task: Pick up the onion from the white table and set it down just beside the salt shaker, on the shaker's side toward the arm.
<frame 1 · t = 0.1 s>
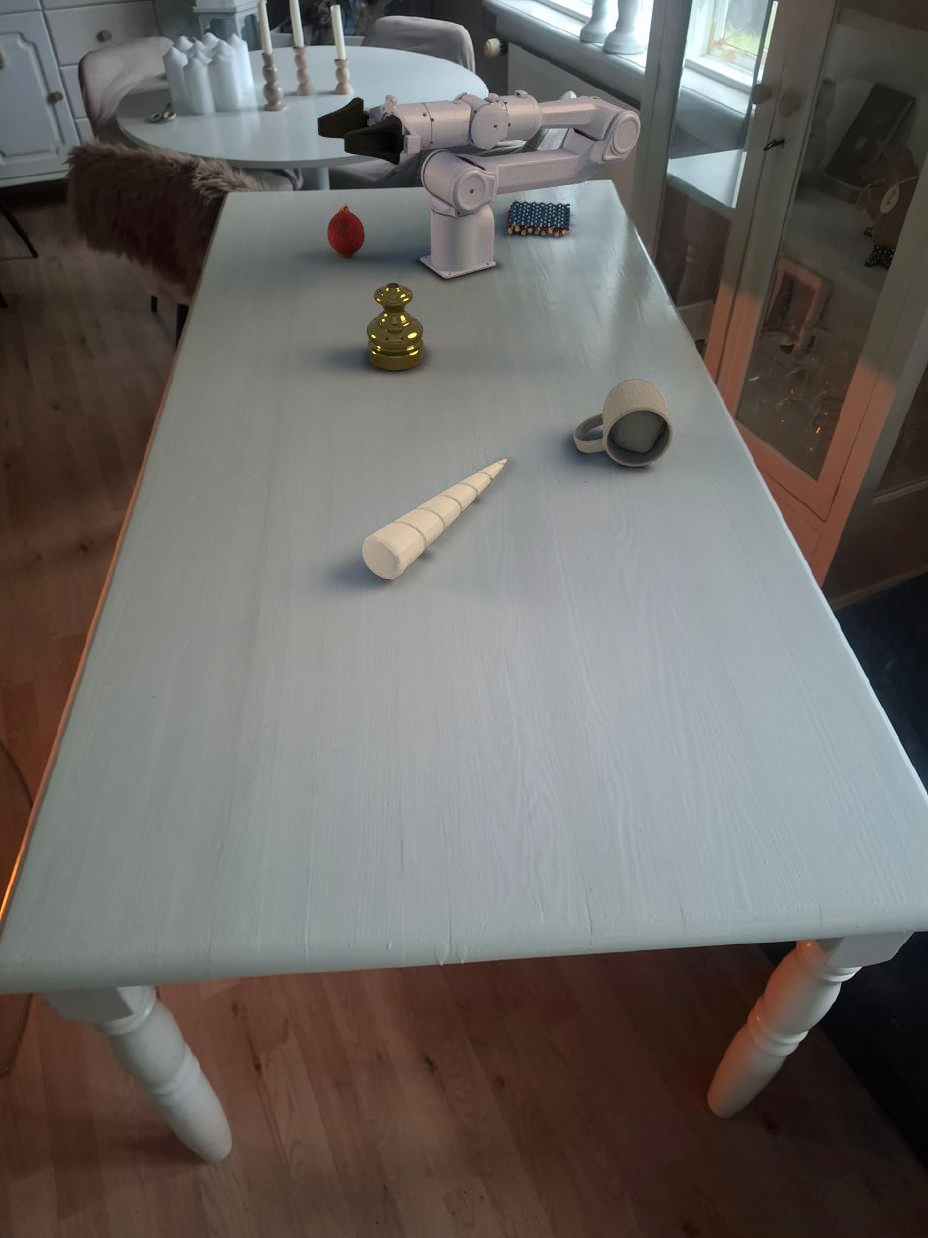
hand: (331, 134, 113), 22 cm above the table, tool horizontal, fingers open, 7 cm apart
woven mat: (538, 225, 147), on the table
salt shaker: (396, 359, 116), on the table
ceramic mug: (618, 449, 102), on the table
unicorn horn: (440, 521, 93), on the table
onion: (347, 258, 137), on the table
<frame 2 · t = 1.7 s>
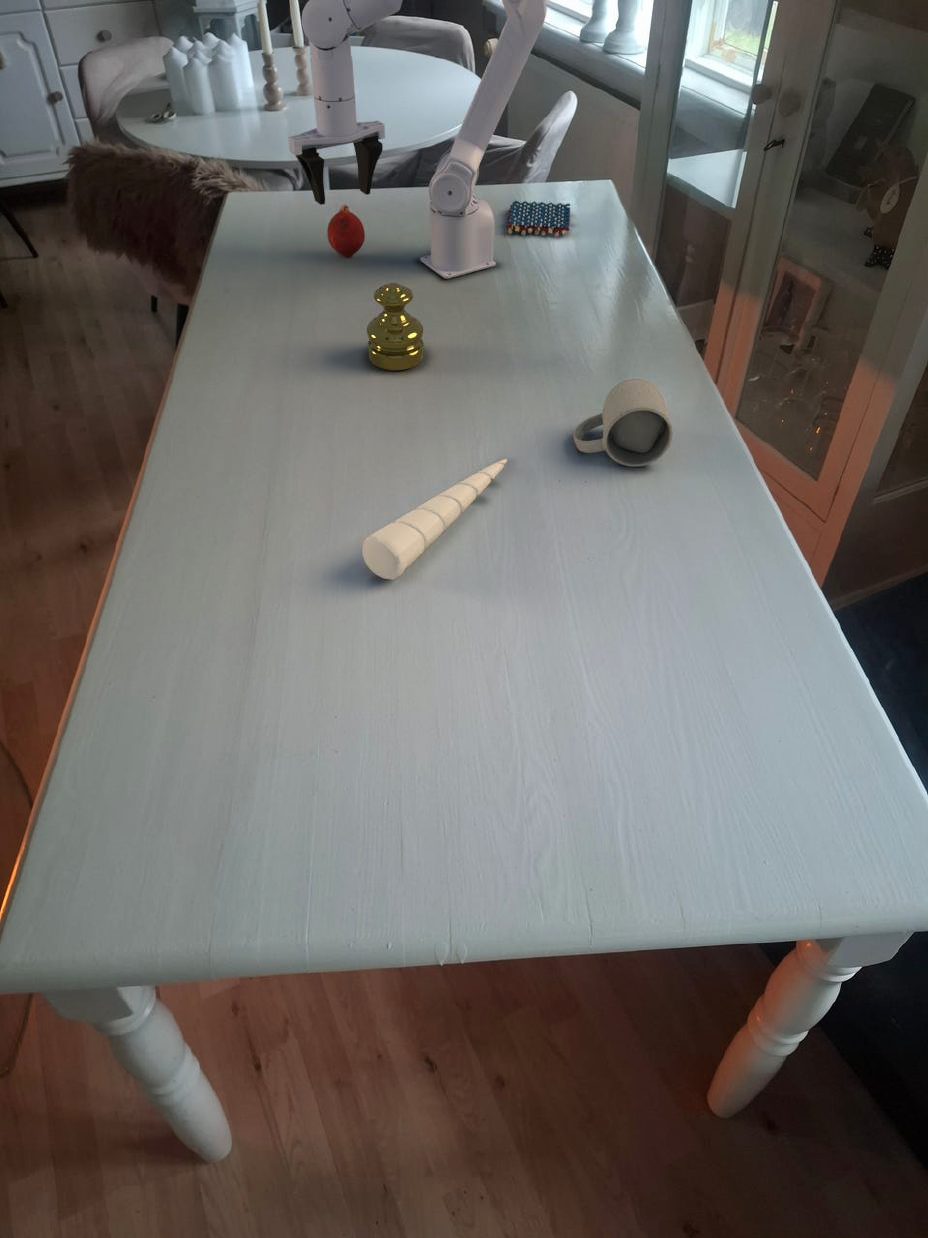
hand: (342, 197, 130), 9 cm above the table, tool pointing down, fingers open, 7 cm apart
nothing on the table moved.
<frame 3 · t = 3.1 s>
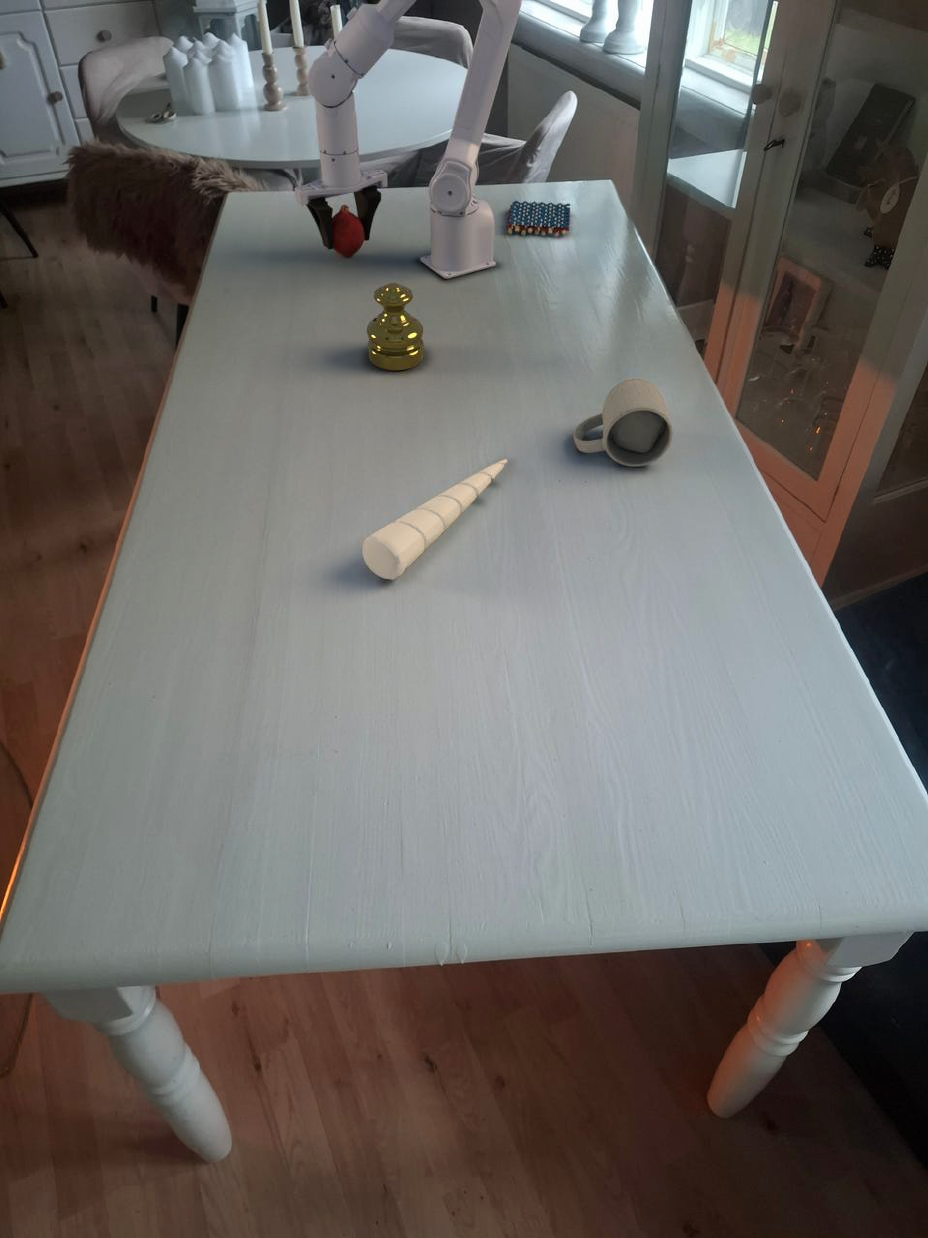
hand: (346, 242, 135), 2 cm above the table, tool pointing down, fingers closed on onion, 6 cm apart
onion: (347, 258, 137), on the table, touching gripper
everything else where it was.
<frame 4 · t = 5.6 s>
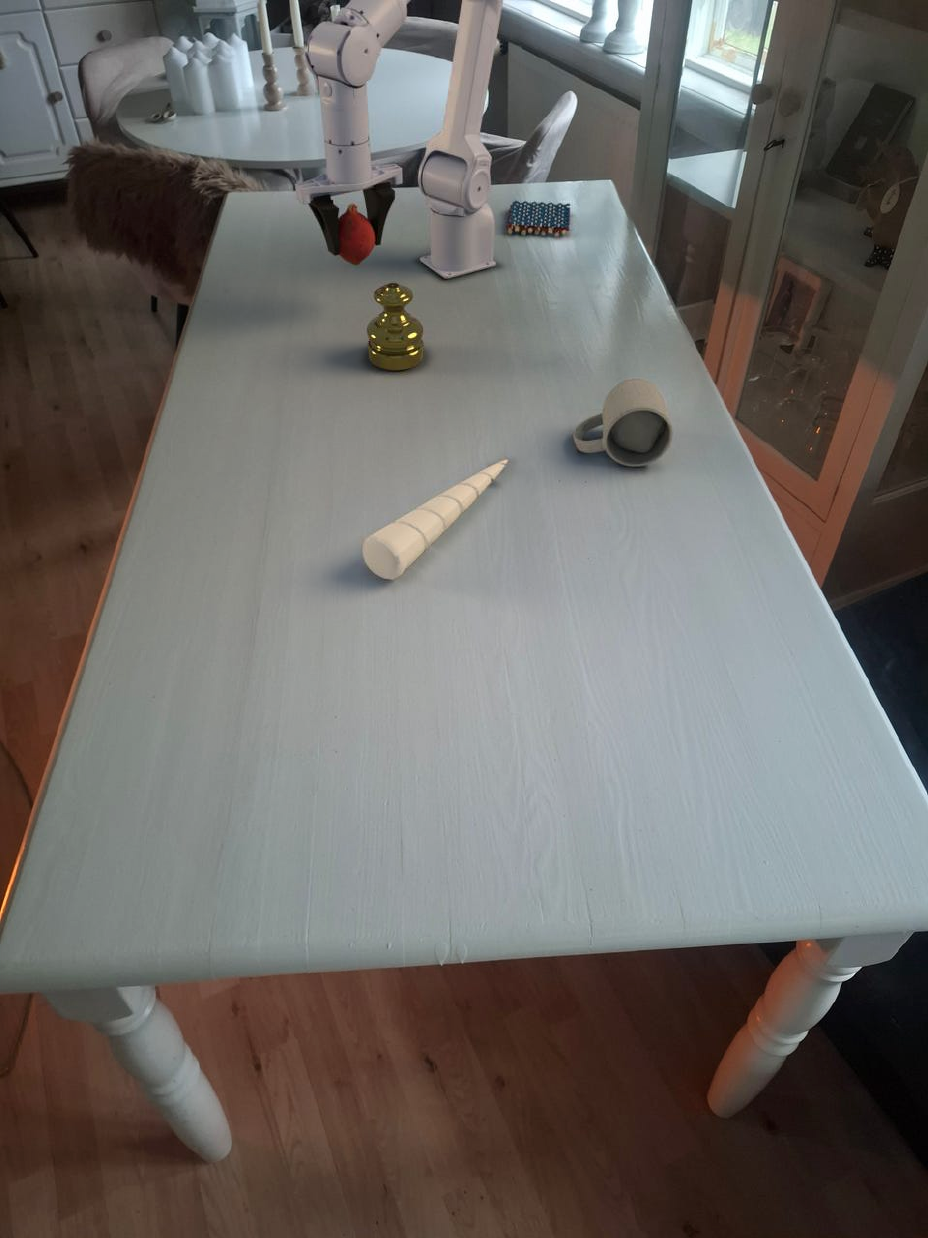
hand: (354, 247, 118), 9 cm above the table, tool pointing down, fingers closed on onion, 6 cm apart
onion: (355, 266, 119), point 7 cm above the table, touching gripper
everything else where it was.
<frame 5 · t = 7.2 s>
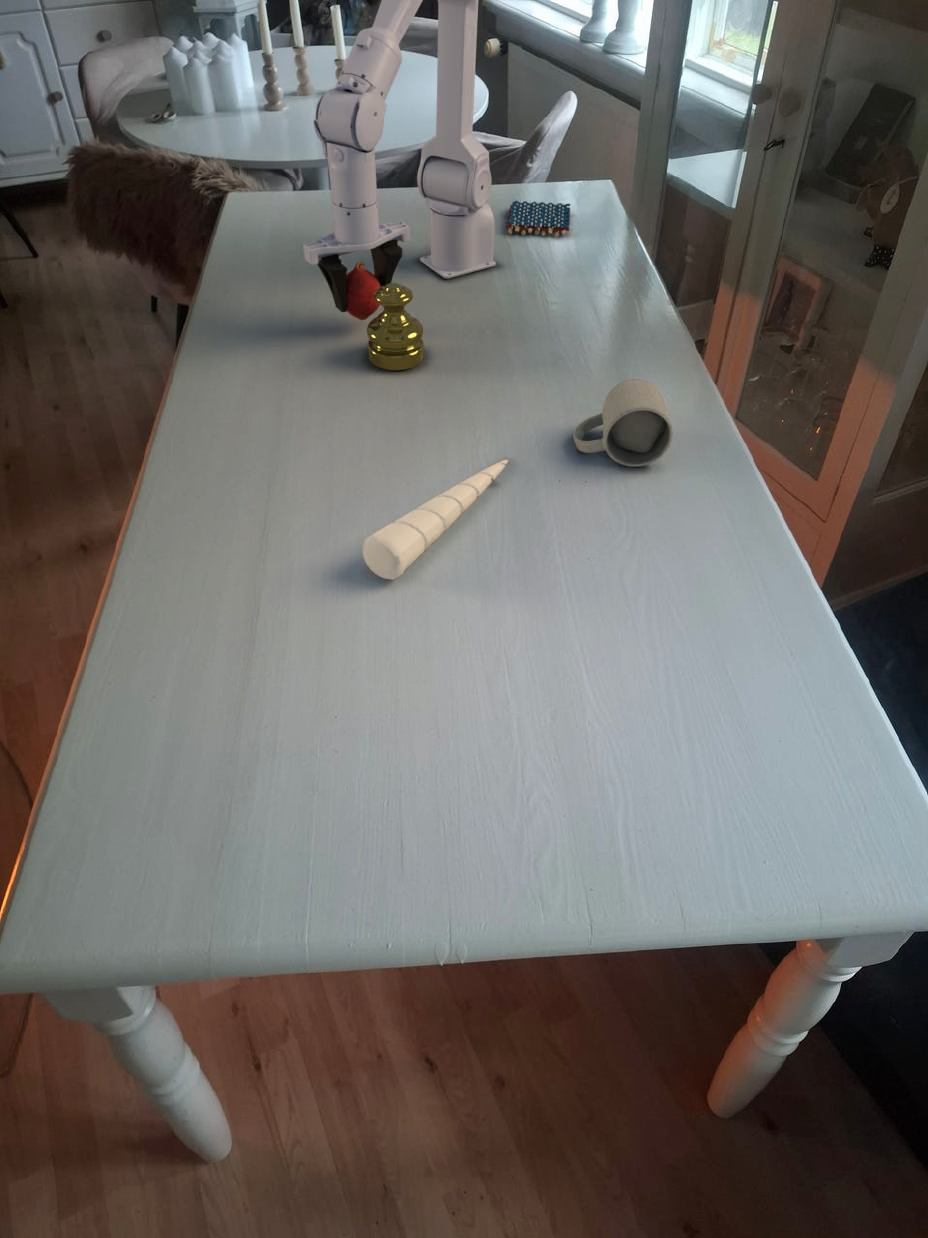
hand: (362, 303, 118), 4 cm above the table, tool pointing down, fingers closed on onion, 6 cm apart
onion: (362, 320, 120), point 1 cm above the table, touching gripper
everything else where it was.
when the fingers open (2 cm above the table, at t = 8.3 s): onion stays where it is, on the table.
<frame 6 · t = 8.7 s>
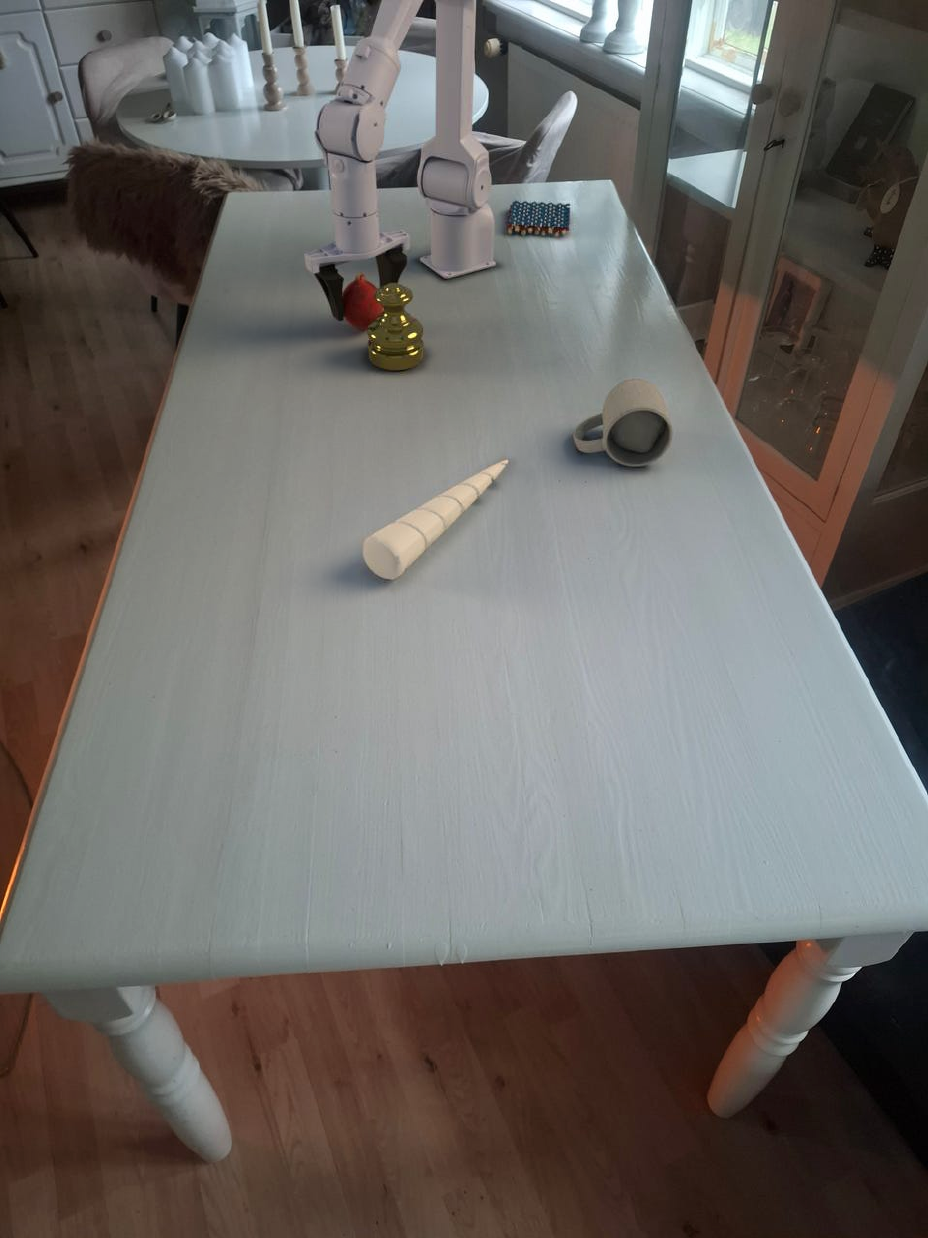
hand: (362, 311, 119), 3 cm above the table, tool pointing down, fingers open, 7 cm apart
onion: (363, 331, 121), on the table
everything else where it was.
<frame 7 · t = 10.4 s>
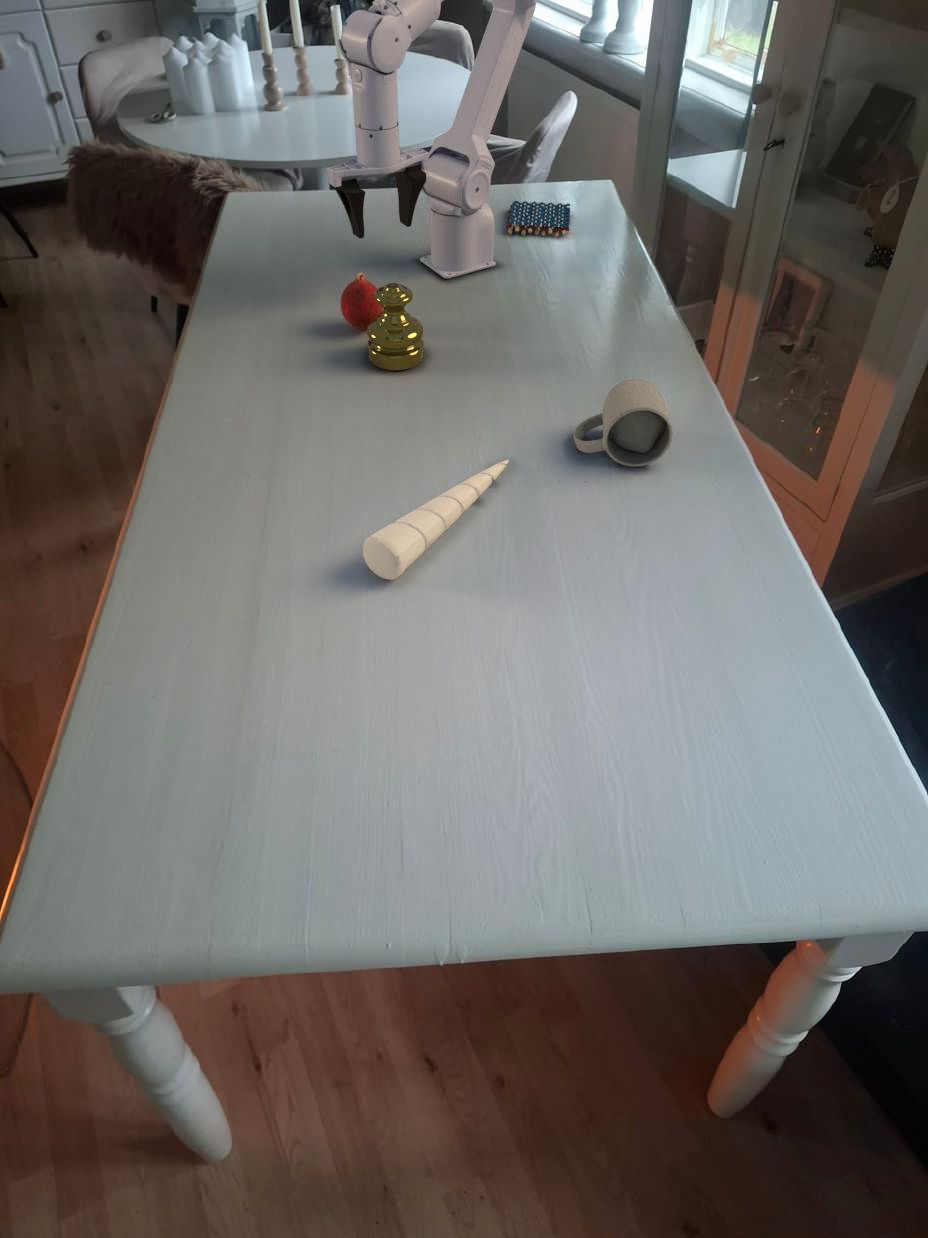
hand: (382, 229, 122), 9 cm above the table, tool pointing down, fingers open, 7 cm apart
nothing on the table moved.
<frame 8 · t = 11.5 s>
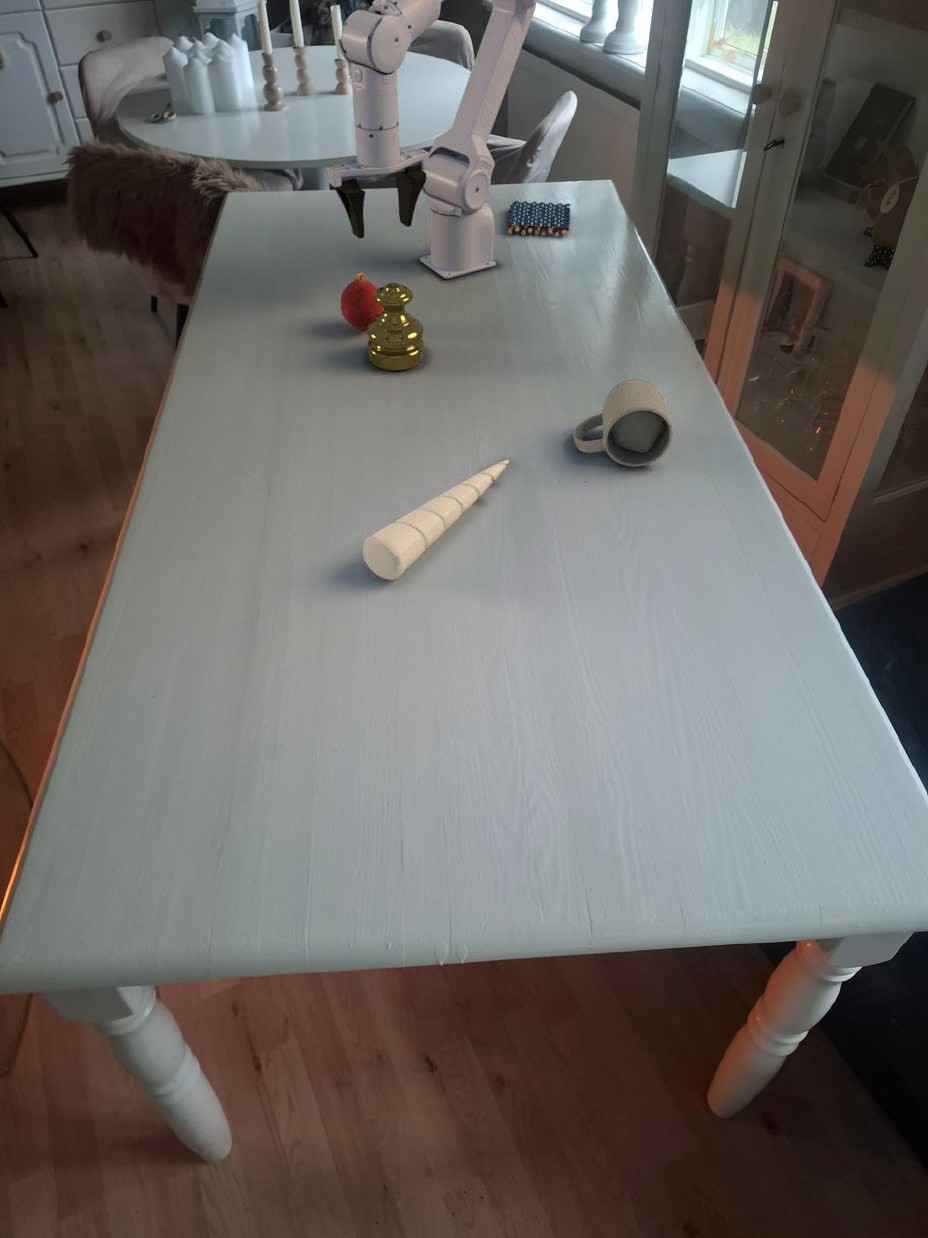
hand: (382, 229, 122), 9 cm above the table, tool pointing down, fingers open, 7 cm apart
nothing on the table moved.
at the end: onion inside the target area on the table beside the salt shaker (0.1 cm from its centre), on the table; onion tilted 0°; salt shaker moved 0.2 cm from its start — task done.
